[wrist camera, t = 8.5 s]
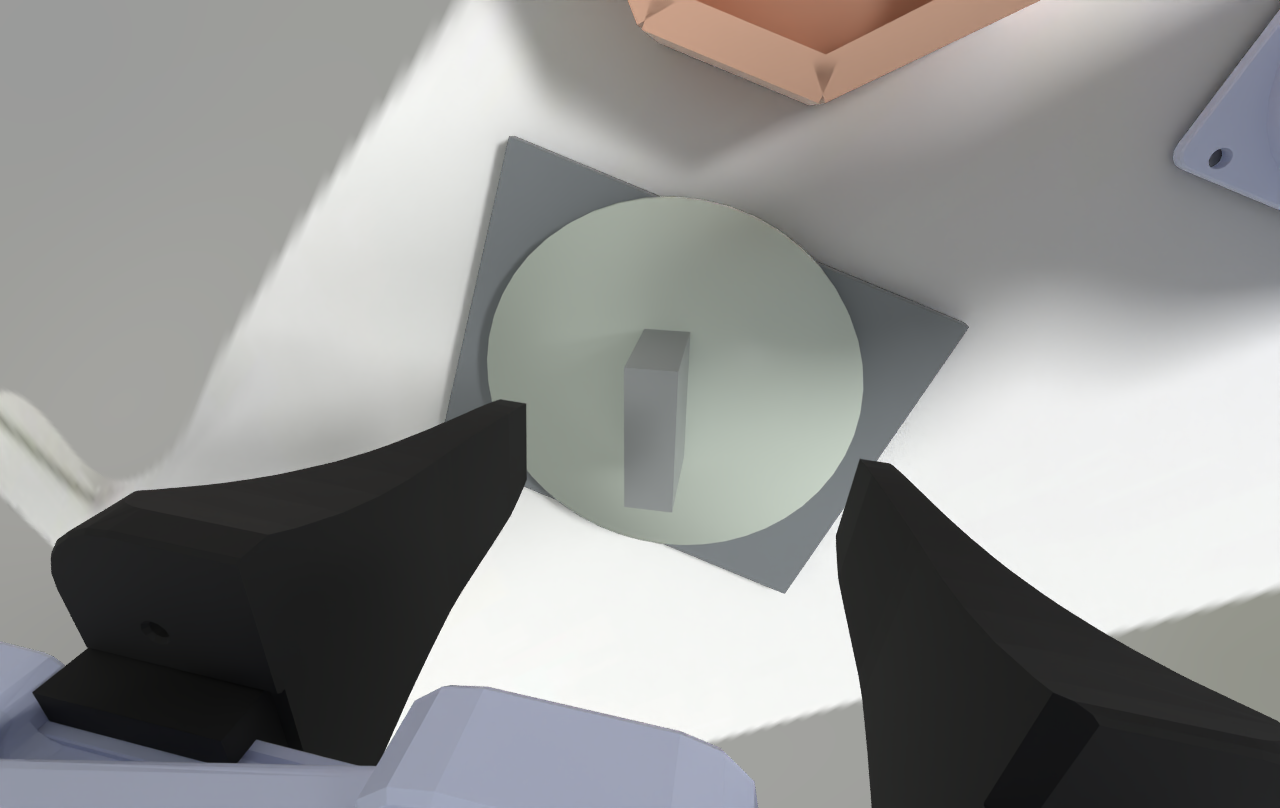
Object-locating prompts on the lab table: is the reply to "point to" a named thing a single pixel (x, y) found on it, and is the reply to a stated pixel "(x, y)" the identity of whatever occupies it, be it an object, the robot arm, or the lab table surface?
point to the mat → (883, 321)
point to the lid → (677, 370)
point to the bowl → (814, 37)
